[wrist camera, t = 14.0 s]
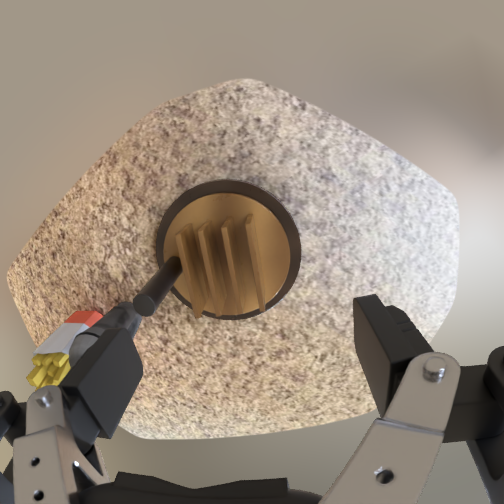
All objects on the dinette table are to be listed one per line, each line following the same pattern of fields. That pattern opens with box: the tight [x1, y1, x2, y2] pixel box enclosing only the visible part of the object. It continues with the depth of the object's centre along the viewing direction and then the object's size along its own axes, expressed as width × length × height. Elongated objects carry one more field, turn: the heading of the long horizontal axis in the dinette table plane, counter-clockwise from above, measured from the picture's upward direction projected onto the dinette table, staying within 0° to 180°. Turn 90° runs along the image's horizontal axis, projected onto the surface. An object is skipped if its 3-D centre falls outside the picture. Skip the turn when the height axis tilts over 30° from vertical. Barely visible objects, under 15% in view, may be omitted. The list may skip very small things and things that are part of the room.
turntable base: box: [156, 179, 301, 320], centre depth 40 cm, size 19×19×2 cm
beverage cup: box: [69, 302, 142, 368], centre depth 35 cm, size 7×7×20 cm
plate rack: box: [133, 193, 290, 318], centre depth 33 cm, size 16×16×12 cm
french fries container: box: [26, 311, 103, 391], centre depth 38 cm, size 5×11×18 cm, turn 7°
